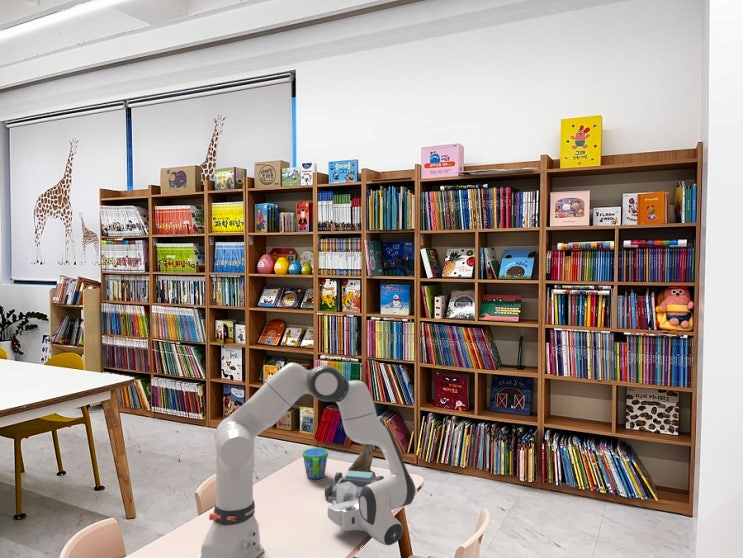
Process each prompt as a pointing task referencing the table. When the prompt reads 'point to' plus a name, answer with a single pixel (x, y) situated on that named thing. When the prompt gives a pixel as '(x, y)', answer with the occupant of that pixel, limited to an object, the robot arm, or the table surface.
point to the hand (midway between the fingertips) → (345, 499)
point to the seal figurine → (363, 460)
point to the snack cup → (315, 462)
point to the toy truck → (355, 478)
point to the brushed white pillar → (346, 492)
